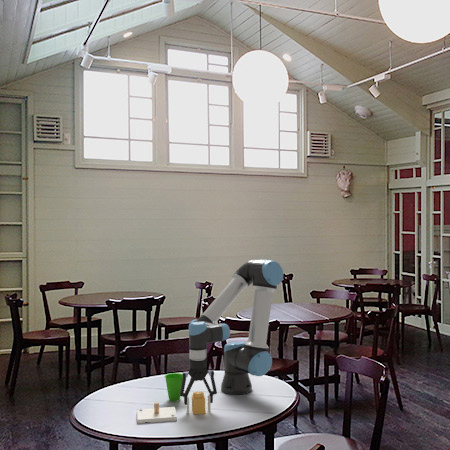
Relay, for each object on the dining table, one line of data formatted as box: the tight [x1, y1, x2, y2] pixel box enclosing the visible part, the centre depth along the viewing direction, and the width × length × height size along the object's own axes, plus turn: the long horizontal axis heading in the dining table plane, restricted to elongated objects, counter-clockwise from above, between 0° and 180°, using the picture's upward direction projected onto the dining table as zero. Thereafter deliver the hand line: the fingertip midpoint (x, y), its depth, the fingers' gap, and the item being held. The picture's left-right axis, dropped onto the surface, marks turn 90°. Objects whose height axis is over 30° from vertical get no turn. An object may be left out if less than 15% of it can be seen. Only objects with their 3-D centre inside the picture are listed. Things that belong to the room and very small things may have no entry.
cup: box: [164, 372, 183, 402], centre depth 227 cm, size 9×9×11 cm
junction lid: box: [136, 402, 178, 424], centre depth 206 cm, size 16×12×6 cm
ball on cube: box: [191, 390, 206, 415], centre depth 211 cm, size 5×5×8 cm
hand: (198, 411), depth 211 cm, fingers open, 8 cm apart
